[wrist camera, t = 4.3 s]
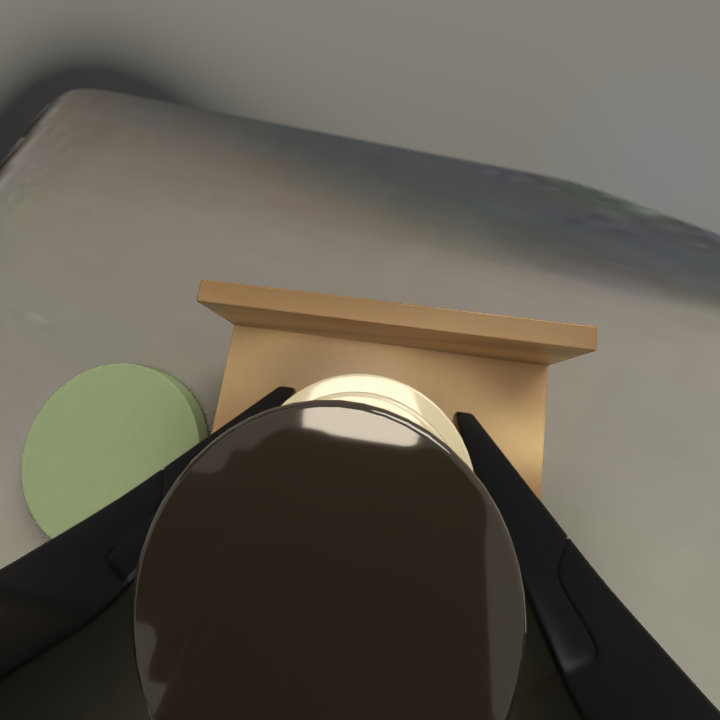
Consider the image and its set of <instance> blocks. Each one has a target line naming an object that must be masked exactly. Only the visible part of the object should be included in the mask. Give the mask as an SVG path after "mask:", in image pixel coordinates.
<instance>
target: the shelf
mask: <svg viewBox="0 0 720 720" xmlns="http://www.w3.org/2000/svg"><path fill="white" fill-rule="evenodd" d="M197 301H198V302H199V303H201V304H202V305H204V306H206V307H207V308H209V309H210V310H212V311H213V312H215V313H217V314H218V315H220V316H221V317H223V318H225V319H226V320H228V321H229V322H231V323H232V324H234V329H233V334H232V339H231V343H230V348H229V353H228V357H227V362H226V367H225V371H224V376H223V381H222V386H221V390H220V395H219V400H218V404H217V409H216V414H215V418H214V423H213V428H212V433H214V432H215V431H216V430H218V429H219V428H221V427H222V426H224V425H225V424H226V423H228V422H229V421H231V420H232V419H233V418H235V417H236V416H238V415H239V414H241V413H242V412H243V411H245V410H246V409H248V408H249V407H251V406H252V405H253V404H255V403H256V402H258V401H259V400H261V399H262V398H263V397H265V396H266V395H268V394H269V393H270V392H272V391H273V390H275V389H276V388H278V387H280V386H285V387H292V388H294V389H295V390H296V393H297V392H298V391H300V390H302V389H303V388H305V387H307V386H309V385H311V384H313V383H316V382H318V381H320V380H323V379H326V378H330V377H334V376H338V375H345V374H372V375H379V376H384V377H387V378H391V379H395V380H397V381H400V382H402V383H404V384H407V385H409V386H411V387H412V388H414V389H416V390H418V391H419V392H421V393H422V394H424V395H425V396H426V397H428V398H429V399H430V400H432V401H433V402H434V403H435V404H436V405H437V406H438V407H439V408H440V409H441V410H442V411H443V412H444V413H445V414H446V415H447V417H448V418H449V419H450V420H451V422H452V420H453V416H454V414H455V413H456V412H465V413H471V414H473V415H474V416H475V418H476V419H477V420H478V421H479V423H480V424H481V425H482V427H483V428H484V429H485V430H486V432H487V433H488V434H489V436H490V437H491V438H492V439H493V441H494V442H495V443H496V445H497V446H498V447H499V448H500V450H501V451H502V452H503V454H504V455H505V456H506V457H507V459H508V460H509V461H510V463H511V464H512V465H513V466H514V468H515V469H516V470H517V472H518V473H519V474H520V475H521V477H522V478H523V479H524V481H525V482H526V483H527V484H528V486H529V487H530V488H531V490H532V491H533V492H534V493H535V495H536V496H537V497H538V499H539V500H540V499H541V481H542V464H543V446H544V428H545V411H546V393H547V375H548V365H551V364H554V363H558V362H561V361H564V360H567V359H571V358H574V357H577V356H580V355H584V354H587V353H590V352H593V351H596V346H597V327H596V326H588V325H580V324H572V323H563V322H555V321H546V320H538V319H530V318H521V317H513V316H504V315H496V314H487V313H479V312H471V311H462V310H454V309H445V308H437V307H429V306H420V305H412V304H403V303H395V302H387V301H378V300H370V299H361V298H353V297H345V296H336V295H328V294H319V293H311V292H303V291H294V290H286V289H277V288H269V287H260V286H252V285H244V284H235V283H227V282H218V281H210V280H201V283H200V288H199V292H198V296H197ZM212 433H211V434H212Z"/></svg>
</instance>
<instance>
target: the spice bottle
mask: <svg viewBox="0 0 720 720" xmlns="http://www.w3.org/2000/svg"><path fill="white" fill-rule="evenodd" d="M525 641H526V608H525V592H524V587H523V581H522V576H521V571H520V565H519V561H518V558H517V555H516V552H515V548H514V545H513V542H512V539H511V536H510V533H509V531H508V529H507V527H506V524H505V522H504V520H503V518H502V516H501V513H500V511H499V509H498V508H497V506H496V504H495V503H494V501H493V499H492V498H491V496H490V494H489V493H488V491H487V489H486V488H485V486H484V485H483V484H482V482H481V481H480V480H479V478H478V477H477V476H476V475H475V473H474V471H473V466H472V463H471V460H470V456H469V453H468V451H467V448H466V446H465V444H464V442H463V439H462V437H461V436H460V434H459V432H458V431H457V429H456V427H455V426H454V424H453V423H452V422H451V420H450V419H449V418H448V417H447V415H446V414H445V413H444V412H443V411H442V410H441V409H440V408H439V407H438V406H437V405H436V404H435V403H434V402H433V401H432V400H430V399H429V398H428V397H426V396H425V395H424V394H422V393H421V392H419V391H418V390H416V389H414V388H412V387H411V386H409V385H407V384H404V383H402V382H400V381H397V380H395V379H391V378H387V377H384V376H379V375H372V374H345V375H338V376H334V377H330V378H326V379H323V380H320V381H318V382H316V383H313V384H311V385H309V386H307V387H305V388H303V389H302V390H300V391H298V392H297V393H295V394H294V395H293V396H291V397H290V398H289V399H287V400H286V401H285V402H284V403H283V404H282V405H281V406H279V407H275V408H271V409H269V410H266V411H264V412H261V413H259V414H256V415H254V416H252V417H249V418H248V419H246V420H244V421H242V422H240V423H239V424H237V425H235V426H233V427H232V428H230V429H228V430H227V431H226V432H224V433H223V434H222V435H220V436H219V437H218V438H216V439H215V440H214V441H212V442H211V443H210V444H209V445H208V446H207V447H205V448H204V449H203V450H202V451H201V452H200V453H199V454H198V455H197V456H196V457H195V458H194V459H193V460H192V461H191V462H190V464H189V465H188V466H187V467H186V468H185V470H184V471H183V472H182V473H181V475H180V476H179V477H178V478H177V479H176V481H175V482H174V484H173V486H172V487H171V489H170V490H169V492H168V493H167V495H166V497H165V498H164V500H163V501H162V503H161V505H160V507H159V509H158V511H157V513H156V515H155V517H154V519H153V521H152V523H151V525H150V527H149V530H148V533H147V536H146V539H145V542H144V544H143V547H142V550H141V553H140V558H139V562H138V566H137V571H136V575H135V580H134V589H133V598H132V642H133V651H134V660H135V666H136V670H137V674H138V678H139V683H140V687H141V691H142V694H143V697H144V699H145V702H146V705H147V708H148V710H149V713H150V716H151V718H152V720H508V718H509V716H510V713H511V710H512V707H513V704H514V700H515V697H516V694H517V691H518V688H519V684H520V679H521V673H522V667H523V662H524V656H525Z"/></svg>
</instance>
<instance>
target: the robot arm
mask: <svg viewBox="0 0 720 720" xmlns="http://www.w3.org/2000/svg"><path fill="white" fill-rule="evenodd" d="M295 393H296V390H295V389H294V388H292V387H285V386H280V387H278V388H276V389H275V390H273V391H272V392H270V393H269V394H268V395H266V396H265V397H263V398H262V399H261V400H259V401H258V402H256V403H255V404H253V405H252V406H251V407H249V408H248V409H246V410H245V411H243V412H242V413H241V414H239V415H238V416H236V417H235V418H233V419H232V420H231V421H229V422H228V423H226V424H225V425H224V426H222V427H221V428H219V429H218V430H216V431H215V432H214V433H212V434H211V435H209V436H208V437H206V438H205V439H204V440H202V441H201V442H199V443H198V444H197V445H195V446H194V447H192V448H191V449H189V450H188V451H187V452H185V453H184V454H182V455H181V456H179V457H178V458H177V459H175V460H174V461H172V462H171V463H170V464H168V465H167V466H165V467H164V470H162V469H161V470H159V471H158V472H157V473H155V474H154V475H152V476H151V477H149V478H148V479H147V480H145V481H144V482H142V483H141V484H139V485H138V486H136V487H135V488H133V489H132V490H130V491H129V492H127V493H126V494H124V495H123V496H121V497H120V498H118V499H117V500H115V501H113V502H112V503H110V504H109V505H107V506H105V507H104V508H102V509H101V510H99V511H97V512H96V513H94V514H93V515H91V516H89V517H88V518H86V519H84V520H83V521H81V522H79V523H78V524H76V525H74V526H73V527H71V528H69V529H68V530H66V531H64V532H63V533H61V534H59V535H58V536H56V537H55V538H53V539H51V540H50V541H48V542H46V543H45V544H43V545H41V546H40V547H38V548H36V549H35V550H33V551H31V552H30V553H28V554H26V555H25V556H23V557H21V558H20V559H18V560H16V561H15V562H13V563H11V564H9V565H7V566H6V567H4V568H2V569H0V720H152V718H151V716H150V713H149V710H148V708H147V705H146V702H145V699H144V697H143V694H142V691H141V687H140V683H139V678H138V674H137V670H136V666H135V660H134V651H133V642H132V598H133V589H134V580H135V575H136V571H137V566H138V562H139V558H140V553H141V550H142V547H143V544H144V542H145V539H146V536H147V533H148V530H149V527H150V525H151V523H152V521H153V519H154V517H155V515H156V513H157V511H158V509H159V507H160V505H161V503H162V501H163V500H164V498H165V497H166V495H167V493H168V492H169V490H170V489H171V487H172V486H173V484H174V482H175V481H176V479H177V478H178V477H179V476H180V475H181V473H182V472H183V471H184V470H185V468H186V467H187V466H188V465H189V464H190V462H191V461H192V460H193V459H194V458H195V457H196V456H197V455H198V454H199V453H200V452H201V451H202V450H203V449H204V448H205V447H207V446H208V445H209V444H210V443H211V442H212V441H214V440H215V439H216V438H218V437H219V436H220V435H222V434H223V433H224V432H226V431H227V430H228V429H230V428H232V427H233V426H235V425H237V424H239V423H240V422H242V421H244V420H246V419H248V418H249V417H252V416H254V415H256V414H259V413H261V412H264V411H266V410H269V409H271V408H275V407H279V406H281V405H282V404H283V403H284V402H285V401H286V400H287V399H289V398H290V397H291V396H293V395H294V394H295ZM452 423H453V424H454V426H455V427H456V429H457V431H458V432H459V434H460V436H461V437H462V439H463V442H464V444H465V446H466V448H467V451H468V453H469V456H470V460H471V463H472V466H473V471H474V473H475V475H476V476H477V477H478V478H479V480H480V481H481V482H482V484H483V485H484V486H485V488H486V489H487V491H488V493H489V494H490V496H491V498H492V499H493V501H494V503H495V504H496V506H497V508H498V509H499V511H500V513H501V516H502V518H503V520H504V522H505V524H506V527H507V529H508V531H509V533H510V536H511V539H512V542H513V545H514V548H515V552H516V555H517V558H518V561H519V565H520V571H521V576H522V581H523V587H524V592H525V608H526V641H525V656H524V662H523V667H522V673H521V679H520V684H519V688H518V691H517V694H516V697H515V700H514V704H513V707H512V710H511V713H510V716H509V718H508V720H720V711H719V710H718V709H717V708H716V707H715V706H714V705H713V704H712V703H711V702H710V701H709V699H708V698H707V697H706V696H705V695H704V694H703V693H702V692H701V690H700V689H699V688H698V687H697V686H696V685H695V684H694V683H693V682H692V680H691V679H690V678H689V677H688V676H687V675H686V674H685V673H684V672H683V670H682V669H681V668H680V667H679V666H678V665H677V664H676V663H675V662H674V660H673V659H672V658H671V657H670V656H669V655H668V654H667V653H666V652H665V650H664V649H663V648H662V647H661V646H660V645H659V644H658V643H657V641H656V640H655V639H654V638H653V637H652V636H651V635H650V634H649V633H648V631H647V630H646V629H645V628H644V627H643V626H642V625H641V624H640V623H639V621H638V620H637V619H636V618H635V617H634V616H633V615H632V613H631V612H630V611H629V610H628V609H627V608H626V607H625V605H624V604H623V603H622V602H621V601H620V600H619V599H618V597H617V596H616V595H615V594H614V593H613V592H612V590H611V589H610V588H609V587H608V586H607V585H606V583H605V582H604V581H603V580H602V579H601V577H600V576H599V575H598V574H597V572H596V571H595V570H594V569H593V567H592V566H591V565H590V564H589V562H588V561H587V560H586V559H585V558H584V556H583V555H582V554H581V552H580V551H579V550H578V549H577V547H576V546H575V545H574V543H573V542H572V541H571V540H570V539H567V535H566V533H565V532H564V531H563V530H562V528H561V527H560V526H559V524H558V523H557V522H556V520H555V519H554V518H553V517H552V515H551V514H550V513H549V511H548V510H547V509H546V508H545V506H544V505H543V504H542V502H541V501H540V500H539V499H538V497H537V496H536V495H535V493H534V492H533V491H532V490H531V488H530V487H529V486H528V484H527V483H526V482H525V481H524V479H523V478H522V477H521V475H520V474H519V473H518V472H517V470H516V469H515V468H514V466H513V465H512V464H511V463H510V461H509V460H508V459H507V457H506V456H505V455H504V454H503V452H502V451H501V450H500V448H499V447H498V446H497V445H496V443H495V442H494V441H493V439H492V438H491V437H490V436H489V434H488V433H487V432H486V430H485V429H484V428H483V427H482V425H481V424H480V423H479V421H478V420H477V419H476V418H475V416H474V415H473V414H471V413H465V412H456V413H455V414H454V416H453V420H452Z"/></svg>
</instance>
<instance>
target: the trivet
mask: <svg viewBox="0 0 720 720" xmlns="http://www.w3.org/2000/svg"><path fill="white" fill-rule="evenodd" d="M206 437H208V430H207V425H206V422H205V418H204V415H203V413H202V411H201V408H200V406H199V404H198V403H197V401H196V400H195V398H194V396H193V395H192V394H191V393H190V392H189V390H188V389H187V388H186V387H185V386H184V385H183V384H181V383H180V382H179V381H178V380H176V379H175V378H173V377H172V376H170V375H168V374H166V373H164V372H162V371H160V370H156V369H153V368H149V367H144V366H140V365H133V364H111V365H104V366H101V367H97V368H93V369H91V370H88V371H86V372H84V373H82V374H80V375H78V376H76V377H74V378H72V379H71V380H70V381H68V382H67V383H65V384H64V385H63V386H62V387H60V388H59V389H58V390H57V391H56V392H55V393H54V394H53V395H52V396H51V397H50V398H49V399H48V401H47V402H46V403H45V404H44V406H43V407H42V409H41V410H40V411H39V413H38V415H37V416H36V418H35V420H34V422H33V424H32V426H31V428H30V431H29V433H28V435H27V439H26V442H25V446H24V450H23V456H22V466H21V477H22V487H23V492H24V496H25V499H26V502H27V505H28V508H29V510H30V512H31V514H32V516H33V518H34V519H35V521H36V522H37V524H38V525H39V526H40V528H41V529H42V530H43V531H44V532H45V533H46V534H47V535H48V536H49V537H50V538H52V539H53V538H55V537H56V536H58V535H59V534H61V533H63V532H64V531H66V530H68V529H69V528H71V527H73V526H74V525H76V524H78V523H79V522H81V521H83V520H84V519H86V518H88V517H89V516H91V515H93V514H94V513H96V512H97V511H99V510H101V509H102V508H104V507H105V506H107V505H109V504H110V503H112V502H113V501H115V500H117V499H118V498H120V497H121V496H123V495H124V494H126V493H127V492H129V491H130V490H132V489H133V488H135V487H136V486H138V485H139V484H141V483H142V482H144V481H145V480H147V479H148V478H149V477H151V476H152V475H154V474H155V473H157V472H158V471H159V470H161V469H162V470H164V467H165V466H167V465H168V464H170V463H171V462H172V461H174V460H175V459H177V458H178V457H179V456H181V455H182V454H184V453H185V452H187V451H188V450H189V449H191V448H192V447H194V446H195V445H197V444H198V443H199V442H201V441H202V440H204V439H205V438H206Z"/></svg>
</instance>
